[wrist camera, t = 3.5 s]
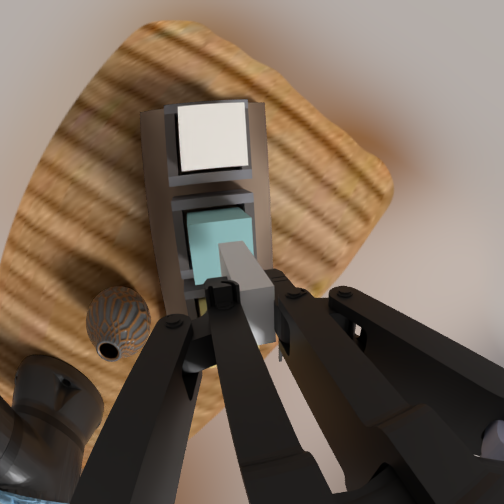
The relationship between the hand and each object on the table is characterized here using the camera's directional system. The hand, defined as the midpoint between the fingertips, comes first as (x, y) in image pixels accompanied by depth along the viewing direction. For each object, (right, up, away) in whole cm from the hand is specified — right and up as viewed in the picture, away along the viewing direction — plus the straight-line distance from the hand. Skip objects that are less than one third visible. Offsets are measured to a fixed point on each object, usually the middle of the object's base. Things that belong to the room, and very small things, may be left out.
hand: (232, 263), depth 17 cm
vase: (-13, -5, +12) cm, 19 cm away
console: (-3, +4, +11) cm, 12 cm away
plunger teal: (-2, +2, +7) cm, 8 cm away
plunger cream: (-2, +10, +4) cm, 11 cm away
